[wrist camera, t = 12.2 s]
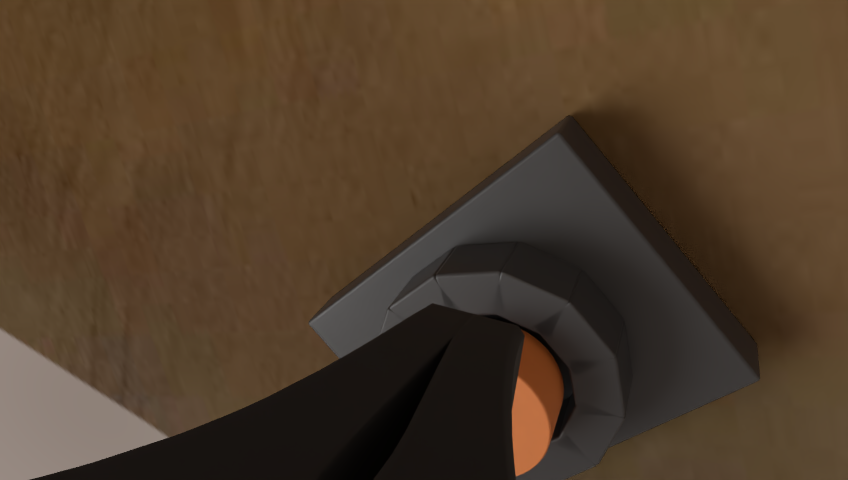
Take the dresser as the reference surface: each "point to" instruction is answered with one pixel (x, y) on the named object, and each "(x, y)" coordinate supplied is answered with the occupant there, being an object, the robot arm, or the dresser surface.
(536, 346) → the button
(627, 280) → the grey button base
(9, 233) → the dresser surface
